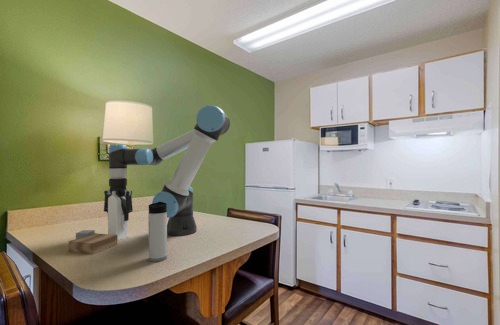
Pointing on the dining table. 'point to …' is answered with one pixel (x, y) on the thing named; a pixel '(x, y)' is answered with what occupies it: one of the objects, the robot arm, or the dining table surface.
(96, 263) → the dining table surface
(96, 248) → the stand
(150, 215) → the travel mug
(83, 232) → the grey block
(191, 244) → the dining table surface
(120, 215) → the milk
